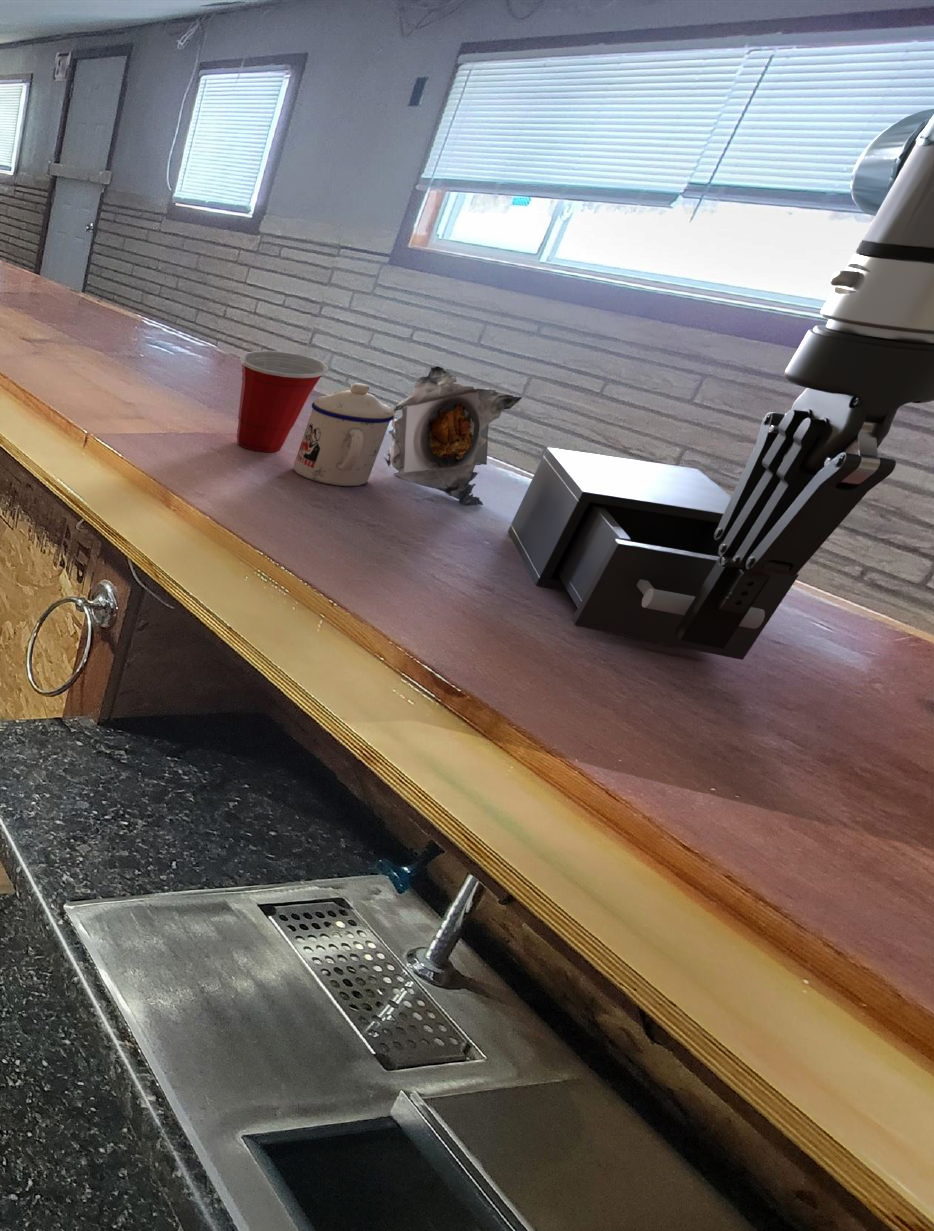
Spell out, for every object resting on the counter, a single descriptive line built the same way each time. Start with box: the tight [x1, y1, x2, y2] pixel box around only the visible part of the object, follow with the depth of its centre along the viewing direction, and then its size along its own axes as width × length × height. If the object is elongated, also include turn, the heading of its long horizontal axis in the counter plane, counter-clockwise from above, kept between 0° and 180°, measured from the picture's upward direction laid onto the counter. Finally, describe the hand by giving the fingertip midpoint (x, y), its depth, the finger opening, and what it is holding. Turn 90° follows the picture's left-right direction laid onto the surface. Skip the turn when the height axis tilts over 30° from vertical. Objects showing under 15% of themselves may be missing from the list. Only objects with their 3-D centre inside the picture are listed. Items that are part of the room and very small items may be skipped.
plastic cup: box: [236, 350, 329, 453], centre depth 122 cm, size 11×11×12 cm
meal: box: [383, 365, 523, 506], centre depth 111 cm, size 15×4×13 cm, turn 8°
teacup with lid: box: [293, 382, 395, 487], centre depth 111 cm, size 12×9×12 cm
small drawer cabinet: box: [507, 446, 732, 592], centre depth 90 cm, size 16×13×10 cm
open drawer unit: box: [555, 502, 800, 661], centre depth 79 cm, size 19×12×8 cm, turn 154°
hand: (698, 640), depth 71 cm, fingers closed
